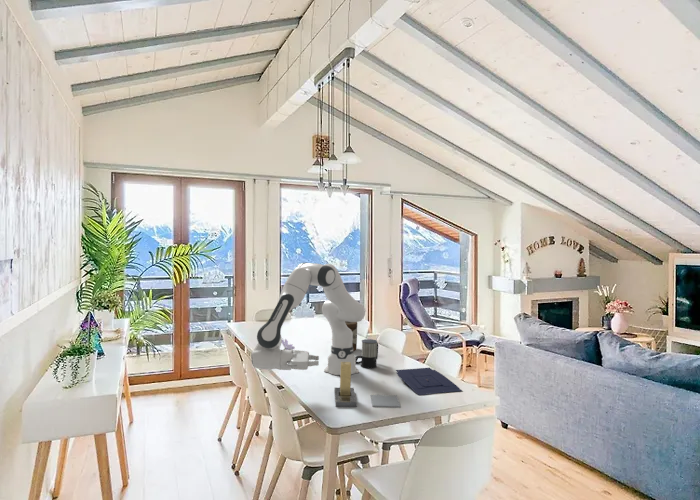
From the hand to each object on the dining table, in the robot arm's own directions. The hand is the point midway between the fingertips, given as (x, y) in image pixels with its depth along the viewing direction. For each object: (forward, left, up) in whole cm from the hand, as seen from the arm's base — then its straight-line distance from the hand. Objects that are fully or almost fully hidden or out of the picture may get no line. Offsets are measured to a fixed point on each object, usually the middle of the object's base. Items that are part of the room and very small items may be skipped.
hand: (318, 360), depth 208 cm
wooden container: (-97, +12, -17) cm, 99 cm away
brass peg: (-1, +12, -17) cm, 21 cm away
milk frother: (-59, +23, -17) cm, 66 cm away
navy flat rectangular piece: (-25, +53, -17) cm, 61 cm away
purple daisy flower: (-81, -23, -17) cm, 86 cm away
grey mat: (+2, +30, -17) cm, 35 cm away
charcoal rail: (-1, +12, -17) cm, 21 cm away
